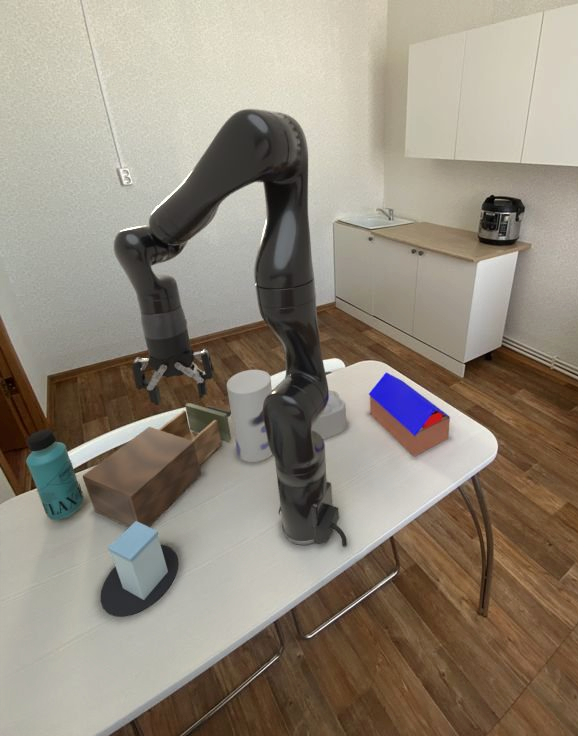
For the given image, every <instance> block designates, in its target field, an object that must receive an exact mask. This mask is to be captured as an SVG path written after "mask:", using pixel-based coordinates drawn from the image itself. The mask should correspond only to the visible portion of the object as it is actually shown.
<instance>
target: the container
mask: <svg viewBox="0 0 578 736" xmlns="http://www.w3.org/2000/svg"><path fill="white" fill-rule="evenodd" d="M272 390H273V386H272V378H271V375H270V374H269V372H267V371H265V370H261V369H247V370H243V371H240V372H237V373H236V374H234V375H232V376H231V377H230V378H229V379H228V380H227V382H226V391H227V396H228V397H227V398H228V402H229V409H230V410H229V411H230V412H231V415H230V417H231V421H232V427H233V428H232V429H233V435H234V439H235V445H236V452H237V453H236V454H237V456H238V457H239V458H240V459H241V460H242V461H244V462H247V463H258V462H261V461H264V460H267V459H268V458H271V456H273V454H272V452H271V450H270V448H269V445H268V440H267V435H266V430H265V424H264V419H263V403H264V400H265V398H266V397H267V395H268V394H269V393H270V392H271V391H272Z"/></svg>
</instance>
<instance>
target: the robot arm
mask: <svg viewBox="0 0 578 736" xmlns="http://www.w3.org/2000/svg"><path fill="white" fill-rule="evenodd" d="M255 183H262V184H263V193H264V199H265V220H264V226H263V229H262V234H261V236H260V241H259V245H258V247H257V248H258V249H257V252H256V256H255V261H254V267H253V277H254V279H253V280H254V286H255V287H254V288H255V292H256V300H257V305H258V311H259V314H260V316H261V318H262V320H263V321H264V323H265V324H266V326H267V328H268V329H270V331H271V332H272V333H273V334H274V336H275V337H276V338H277V339H278V341H279V342H280V345H281V346H282V349H283V353H284V360H285V376H284V379H282V380H281V382H280V383H278V385H276V386H275V387H274V388H272V391H271V392H270V393H269V394H268V395H267V397H266V398H265V400H264V403H263V419H264V424H265V430H266V435H267V440H268V445H269V448H270V450H271V452H272V454H273V455H272V456H273V457H274V461H275V462H274V463H275V471H276V480H277V488H278V496H279V498H278V499H279V505H280V506H279V509H278V515H280V514H281V523H282V532H283V535H284V536H285V538H286V539H287V540H288V541H289V542H291V543H292V544H294V545H298V546H307V545H308V546H309V545H312V544H317V545H320V544H321V543H322V542H323V543H328V541H329V539H330V536H331V534H332V532H333V531H335V532H336V533H337V534H338V535H339V536H340V539H341V543H342V544H341V545H342V547H346V546H347V545H348V544H347V536H346V534H345V532H344V531H343V530H342V529H341V528H340V526H338V525H337V522H338V521H339V519H340V517H339V516H340V514H339V513H340V512H339V507H337V506H334V505H333V490H332V488H333V487H332V483H331V482H330V481H328V475H327V462H326V461H327V459H326V445H325V439H323V438H322V437H321V435H320V434H319V433H317V432H316V431H313V430H312V426H313V425H314V423H315V422H316V421H317V419H318V418H319V417H320V416H321V414H322V413H323V412H324V410H325V408H326V406H327V404H328V400H329V391H330V390H329V384H328V383H329V382H328V379H327V374H326V368H325V364H324V360H323V356H322V349H321V341H320V330H319V321H318V311H317V295H316V294H317V293H316V284H315V274H314V273H315V272H314V266H313V265H314V264H313V257H312V244H311V230H310V229H311V228H310V222H309V221H310V220H309V147H308V142H307V137H306V135H305V132H304V130H303V128H302V126H301V124H300V123H299V122H298V121H297V119H296V118H294V117H293V116H291V115H290V114H287V113H284V112H279V111H272V110H266V109H259V108H246V109H240V110H238V111H236V112H235V113H233V114H231V116H230V117H229V118H227V120H226V121H225V122H224V124H222V126H221V128H220V129H219V130H218V132H217V133H216V134H215V136H214V137H213V139H212V141H211V142H210V143H209V144H208V147H207V148H206V150H205V151H204V153H203V154H202V155H201V157H200V158H199V159H198V161H197V162H196V164H195V165H194V167H193V168H192V170H191V171H190V173H189V174H188V175H187V177H186V178H184V180H183V181H182V183H180V185H178V186H177V188H176V189H175V190H174V191H172V192H171V193H170V195H168V196H167V197H166V198H165V199H164V200H163V201H161V203H160V204H159V205H157V206H156V207H155V208H154V209H153V211H152V212H151V214H150V215H149V218H148V224H147V225H141V226H135V227H130V228H126V229H123V230H120V231H119V232H118V233H117V234H116V235H115V237H114V241H113V252H114V256H115V258H116V259H117V262H118V263H119V265H120V267H121V269H122V270H123V271H124V273H125V275H126V276H127V279H128V280H129V282H130V284H131V286H132V287H133V289H134V292H135V294H136V299H137V303H138V308H139V312H140V322H141V327H142V332H143V336H144V340H145V343H146V348H147V353H148V356H149V357H148V358H143V357H142V356H137V357H136V358H135V359H134V360H133V362H132V365H131V366H132V372H133V377H134V383H135V384H134V385H135V388H136V389H137V390H142V389H146V390H147V391H148V392H147V393H148V395H149V400H150V402H151V403H152V404H154V405H155V406H157V405H158V406H159V405H160V404H161V402H162V401H161V400H162V397H161V396H162V395H161V393H160V389H159V388H160V387H159V384H158V383H159V381H160V380H161V379H162V377H165V378H166V379H167V378H172V377H175V376H176V377H180V376H181V377H182V376H184V375H185V376H187V377H188V378H190V379H193V380H194V381H196V387H197V391H198V397H199V399H203V398H204V396H206V395H207V390H208V387H207V380H211V379H213V376H214V366H213V362H212V359H211V354H210V350H209V349H208V348H207V347H205V348H203V349H202V350H200V351H195V352H194V351H193V349H192V346H191V341H190V336H189V331H188V323H187V319H186V314H185V312H184V308H183V306H182V300H181V296H180V292H179V286H178V283H177V280H176V278H175V277H174V276H172V275H170V274H163V273H162V274H156V273H155V272H154V270H153V267H152V266H155V265H159V264H162V263H165V262H168V261H170V260H173V259H174V258H176V257H177V256H179V255H180V254H181V253H182V252H183V250H184V249H185V248H186V245H187V244H188V242H189V241H190V240H192V238H194V237H195V236H196V235H198V234H199V233H200V232H202V231H203V230H204V229H205V228H207V226H209V224H211V222H212V221H213V220H214V218H215V216H216V215H217V213H218V211H219V208H220V205H221V204H222V203H223V202H224V200H225V199H227V198H228V197H229V196H231V195H232V194H234V193H236V192H237V191H239V190H242V189H244V188H245V187H248V186H249V185H252V184H255ZM195 359H197V360H198V362H199V363H202V366H203V369H204V370H201V368H199V367H198V365H197V364H196V363H194V361H195ZM148 366H149V367H150V368H151V369H153V371H154V372H153V375H152V376H151V378H150V379H147V378H146V372H145V370H146V368H147V367H148Z"/></svg>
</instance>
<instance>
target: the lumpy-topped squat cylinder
mask: <svg viewBox="0 0 578 736" xmlns="http://www.w3.org/2000/svg"><path fill="white" fill-rule="evenodd" d="M346 428H347V409H346V402H345V401H344V400H343V399H342V398H341V397H340V395H339V393H338V392H337V391H335V390H329V400H328V404H327V406H326V408H325V410H324V412H323V413H322V414H321V416H320V417H319V418H318V419H317V421H316V422H315V423H314V425H313V426H312V430H313V431H316V432H317V433H319V434H320V435H321V437H322V438H323V440H326V439H329V438H331V437H334V436H337V435H339V434H341V433H343V432H344V431H345V430H346Z"/></svg>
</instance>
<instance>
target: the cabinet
mask: <svg viewBox="0 0 578 736" xmlns="http://www.w3.org/2000/svg"><path fill="white" fill-rule="evenodd" d="M158 429H159V428H154V427H152V426H148V427H147V428H145V429H143V430H142V431H141V432H140V433H139V434H137V435H136V436H134V437H133V438H132V439H130V440H129V441H127V442H126V443H125V444H124V445H122V446H121V447H120V448H118V449H117V450H115V451H114V452H112V453H111V454H110V455H109V456H107V457H106V458H104V459H103V460H102V461H100V462H99V463H98V464H96V465H95V466H94V467H92V468H91V469H89V470H88V471H87V472H86V473H84V474H83V475H82V479H83V483H84V485H85V488H86V491H87V494H88V497H89V499H90V502H91V505H92V508H93V511H94V513H97V514H99V515H101V516H103V517H106V518H107V519H109V520H111V521H113V522H116V523H118V524H120V525H123V526H124V527H127V529H128V528H129V527H130V526H131V525H132V524H133V523H134V522H135V521H137V522H139V523H141V524H143V525H146V526H148V527H150V528H151V526H152V525H153V524H154V523H155V522H156V521H157V520H158V519H159V518H160V517H161V516H162V515H163V514H164V513H165V512H166V511H167V510H168V509H169V508H170V507H171V506H172V505H173V504H174V503H175V502H176V501H177V500H178V499H179V498H180V497H181V496H182V495H183V494H184V493H185V492H186V491H187V490H188V489H189V488H190V487H191V486H192V485H193V484H194V483H195V482H196V481H197V480H198V479H199V478H200V477H201V475H202V472H201V468H200V465H199V463H198V458H197V454H196V449H195V444H194V441H191V440H188V439H185V438H182V437H179V436H176V435H173V434H170V433H167V432H164V431H161V430H158Z"/></svg>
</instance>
